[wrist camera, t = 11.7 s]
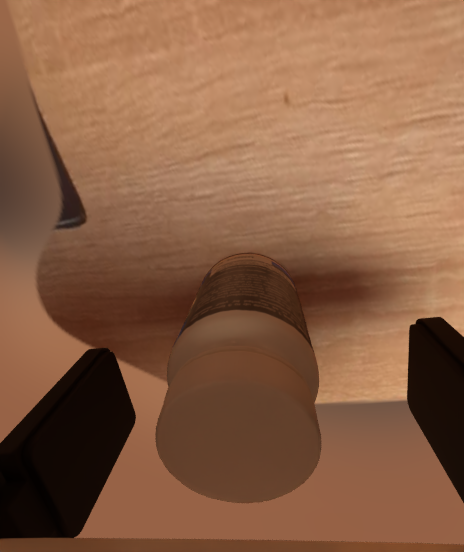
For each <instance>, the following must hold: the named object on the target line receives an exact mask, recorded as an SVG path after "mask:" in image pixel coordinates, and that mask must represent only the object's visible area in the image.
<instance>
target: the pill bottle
mask: <svg viewBox="0 0 464 552" xmlns="http://www.w3.org/2000/svg"><path fill="white" fill-rule="evenodd" d="M167 381H168V386H169V388H168V390H167V393H166V397H165V400H164V405H163V407H162V410H161V413H160V415H159V418H158V422H157V426H156V446H157V450H158V454H159V456H160V458H161V460H162V462H163V463H164V465H165V467H166V468H167V469H168V471H169V472H170V473H171V474H172V475H173V476H174V477H175V478H176V479H178V480H179V481H180V482H181V483H182V484H183V485H185V486H186V487H188V488H189V489H191V490H193V491H195V492H197V493H199V494H201V495H204V496H206V497H209V498H213V499H217V500H222V501H227V502H235V503H253V502H263V501H269V500H272V499H275V498H277V497H280V496H283V495H285V494H287V493H289V492H291V491H293V490H295V489H296V488H298V487H299V486H300V485H301V484H303V483H304V482H305V481H306V480H307V479H308V478H309V477H310V475H311V474H312V473H313V471H314V469H315V468H316V466H317V464H318V461H319V458H320V452H321V434H320V429H319V424H318V420H317V415H316V410H315V405H314V402H315V400H316V396H317V393H318V387H319V372H318V366H317V361H316V357H315V354H314V350H313V347H312V344H311V340H310V337H309V334H308V330H307V326H306V322H305V319H304V315H303V312H302V308H301V304H300V301H299V298H298V295H297V291H296V288H295V285H294V283H293V280H292V278H291V277H290V275H289V274H288V273H287V271H286V270H285V269H284V268H283V267H282V266H280V265H279V264H278V263H276V262H275V261H273V260H271V259H269V258H267V257H264V256H261V255H256V254H240V255H235V256H232V257H229V258H226V259H224V260H222V261H220V262H219V263H218V264H216V265H215V266H214V267H213V268H212V269H211V270H210V271H209V272H208V274H207V275H206V277H205V278H204V280H203V282H202V284H201V286H200V288H199V291H198V293H197V295H196V297H195V300H194V302H193V304H192V306H191V308H190V311H189V313H188V315H187V318H186V320H185V322H184V324H183V327H182V329H181V331H180V333H179V335H178V337H177V339H176V341H175V343H174V346H173V348H172V351H171V354H170V357H169V361H168V368H167Z"/></svg>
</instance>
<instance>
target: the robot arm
mask: <svg viewBox="0 0 464 552" xmlns="http://www.w3.org/2000/svg"><path fill="white" fill-rule="evenodd" d="M407 400H408V405H409V408H410V410H411V412H412V414H413V416H414V418H415V419H416V421H417V423H418V424H419V426H420V428H421V430H422V432H423V433H424V435H425V437H426V438H427V440H428V442H429V444H430V445H431V447H432V449H433V450H434V452H435V454H436V456H437V457H438V459H439V461H440V463H441V464H442V466H443V468H444V470H445V471H446V473H447V475H448V477H449V478H450V480H451V481H452V483H453V485H454V487H455V489H456V490H457V492H458V494H459V496H460V497H461V499H462V501H463V503H464V337H463V336H462V335H461V334H460V333H458V332H457V331H456V330H455V329H454V328H453V327H452V326H451V325H450V324H448V323H447V322H446V321H445V320H444V319H443V318H441V317H433V318H423V319H418V320H417V321H416V324H412V325H411V326H410V330H409V359H408V390H407ZM135 419H136V415H135V411H134V408H133V405H132V403H131V399H130V397H129V394H128V391H127V388H126V385H125V382H124V380H123V377H122V374H121V371H120V369H119V365H118V362H117V360H116V357H115V354H114V353H113V352H110V350H109V349H108V348H96V349H89V350H88V351H86V352H85V353H84V354H83V356H82V357H81V358H80V359H79V360H78V361H77V362H76V363H75V364H74V365H73V366H72V367H71V368H70V369H69V370H68V372H67V373H66V374H65V375H64V376H63V377H62V378H61V379H60V380H59V381H58V382H57V383H56V384H55V385H54V387H53V388H52V389H51V390H50V391H49V392H48V393H47V394H46V395H45V396H44V397H43V398H42V399H41V400H40V401H39V403H38V404H37V405H36V406H35V407H34V408H33V409H32V410H31V411H30V412H29V413H28V414H27V415H26V417H24V419H23V420H22V421H21V422H20V423H19V424H18V425H17V426H16V427H15V428H14V429H13V430H12V431H11V433H10V434H9V435H8V436H7V437H6V438H5V439H4V440H3V441H2V442H1V443H0V552H464V545H460V544H433V543H396V542H345V541H291V540H222V539H220V540H219V539H137V538H136V539H134V538H131V539H130V538H74V537H76V536H78V535H79V534H80V532H81V531H82V529H83V527H84V525H85V523H86V521H87V519H88V517H89V515H90V513H91V511H92V509H93V507H94V505H95V503H96V501H97V499H98V497H99V495H100V493H101V491H102V489H103V487H104V485H105V483H106V481H107V479H108V477H109V475H110V473H111V471H112V468H113V466H114V465H115V463H116V461H117V459H118V457H119V455H120V452H121V451H122V449H123V447H124V445H125V442H126V440H127V438H128V436H129V434H130V432H131V430H132V428H133V426H134V424H135Z"/></svg>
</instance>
